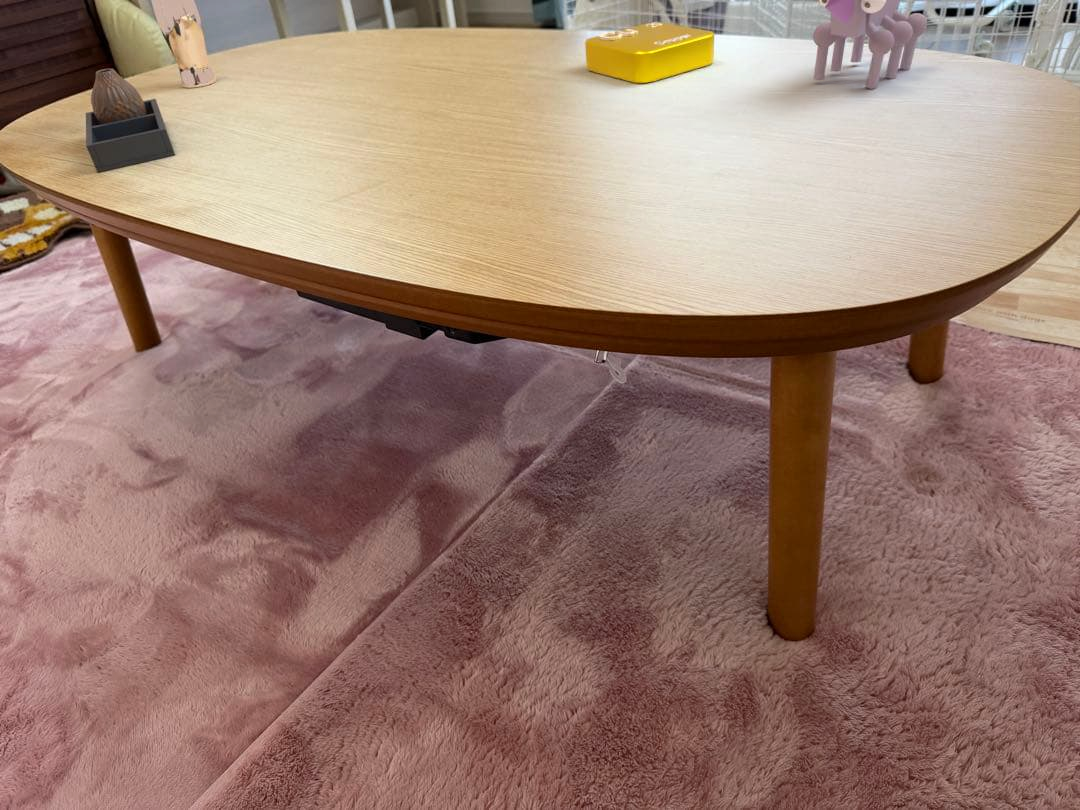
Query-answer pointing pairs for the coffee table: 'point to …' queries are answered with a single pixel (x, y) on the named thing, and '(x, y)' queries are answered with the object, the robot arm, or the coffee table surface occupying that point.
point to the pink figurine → (857, 12)
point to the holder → (128, 139)
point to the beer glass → (185, 40)
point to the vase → (115, 98)
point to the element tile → (649, 52)
